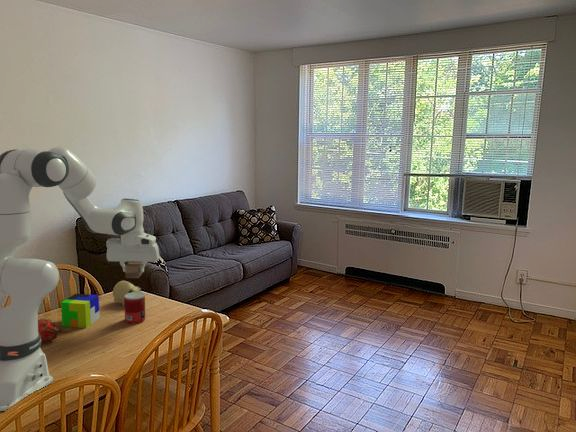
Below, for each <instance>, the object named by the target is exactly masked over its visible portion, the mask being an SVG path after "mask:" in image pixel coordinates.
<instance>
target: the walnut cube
mask: <svg viewBox="0 0 576 432" xmlns="http://www.w3.org/2000/svg"><path fill="white" fill-rule="evenodd" d="M142 266H143V264H142V262H128V263H127V264H125V272H124V273H125V279H139V278H140V277H141V276H142V275H143V272H139V271H140V270H139V268H140V267H142Z"/></svg>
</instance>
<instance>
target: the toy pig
mask: <svg viewBox="0 0 576 432" xmlns="http://www.w3.org/2000/svg"><path fill="white" fill-rule="evenodd" d="M141 291H142V288H141V287H140V286H135V285H134V284H133V283H131V282H130V281H126V280H121V281H118V282H117V283H116V284H115V286H114V287H113V289H112V296H113V302H114V303H115V302H117V303H119V304H121V305H122V306H123V307H124V295H126V294H128V293H131V292H141ZM141 293H142V292H141Z"/></svg>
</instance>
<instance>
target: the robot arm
mask: <svg viewBox="0 0 576 432" xmlns="http://www.w3.org/2000/svg"><path fill="white" fill-rule="evenodd" d="M96 184H97V179H96V177H95V175H94V173H93V172H92V170H91V169H90V168H89V167H88V165H86V163H85V162H83V160H82V159H80V158H79V156H78V155H77V154H75V153H74V152H72V151H71V149H68V148H67V147H65V146H55V147H52V148H50V149H48V150H47V151H45V150H44V151H42V150H36V149H30V148H29V149H28V148H27V149H11V150H7V151H4V152H2V153H1V154H0V296H8V297H10V304H9V305H7V306H5V307H3V308H1V309H0V412H2V411H3V412H5V411H8V410H7V409H8V408H10V407H11V406H13V405H14V404H16V403H17V402H19V401H20V400H21V399H23V398H24V397H26V396H28V395H29V394H31V393H33V392H34V391H36V390H39V389H41V388H43V387H44V388H46V387H47V386H48V385H49V384H50V383H52V382H53V381H54V377H53V376H52V374H50V372H49V367H48V361H47V357H46V354H45V353H44V351H43V350H42V348H41V346H42V341H41V337H40V333H39V332H38V320H39V309H40V307H41V303H43V300H44V299H45V297H47V296H48V295H49V294H51V293H52V292H53V291H54V290H55V289H56V287H57V285H58V284H59V281H60V272H59V269H58V267H57V265H55V263H54V262H51V261H48V260H45V259H39V258H20V257H19V258H18V257H15V252H16V248H18V247H21V246H22V245H24V244H25V243H27V242H28V241H29V240H30V238H31V236H32V217H31V214H32V213H31V204H30V203H31V202H30V197H29V196H30V192H31V190H32V189H33V188H42V187H43V188H53V187H56V186H58V188H59V189H60V190H61V191H62V192H63V196H64V198H65V199H66V200H67V202H68V203H69V204H70V205H71V206H72V208H73V209H74V210H75V212H77V214H78V216H79V217H80V218H81V221H82V222H83V225H84V227H85V229H86V230H87V232H89V233H92V234H104V235H105V234H106V235H113V236H120V238H119V237H116V238H114V237H111V238H108V239H107V240H106V242H105V243H106V244H105V245H106V248H107V249H106V260H107V262H119V265H120V266H121V268H122V272H124V273H125V266H126V264H125V263H126V262H128V263H129V262H132V263H142V267H140V268H139V270H140V271H139V272H142V273H144V272H145V266H146V265H147V264H148V263H156V262H158V260H159V259H160V250H159V249H160V248H159V246H158V244H157V242H156V240H157V237H156V236H154V235H152V234H149V233H146V232H145V228H144V225H143V224H144V220H145V219H144V208H143V204H142V201H140V200H139V199H134V198H121V199H120V203H119V204H118V205H117V206H115V208H105V207H100V206H97V205H94V203H93V202H92V200H91V199H90V198H89V196H90V195H91V194H92V193H93V192H94V190H95V188H96ZM45 386H46V387H45ZM44 388H43V389H44Z"/></svg>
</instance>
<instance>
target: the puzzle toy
mask: <svg viewBox="0 0 576 432" xmlns="http://www.w3.org/2000/svg"><path fill="white" fill-rule="evenodd" d="M60 307H61V308H60V309H61V321H62V322H61V325H62V327H67V328H69V327H70V328H80V329H81V328H83V329H87V328H89V326H91V325H93V324H94V323H95V322H96V321H98V320H99V319H100V295H98V294H86V293H74V294H73V295H71V296H69V297H67V298H65V300H63V301H61V302H60Z"/></svg>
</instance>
